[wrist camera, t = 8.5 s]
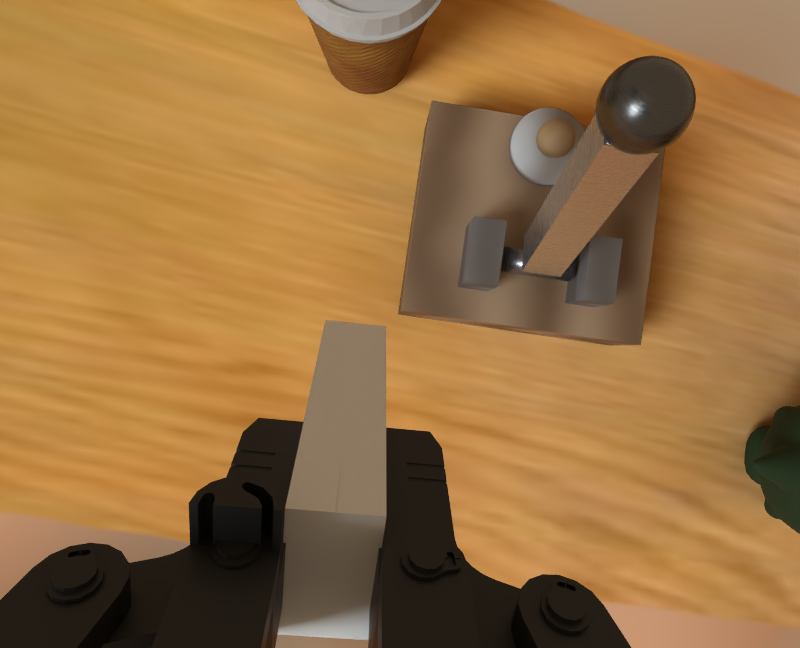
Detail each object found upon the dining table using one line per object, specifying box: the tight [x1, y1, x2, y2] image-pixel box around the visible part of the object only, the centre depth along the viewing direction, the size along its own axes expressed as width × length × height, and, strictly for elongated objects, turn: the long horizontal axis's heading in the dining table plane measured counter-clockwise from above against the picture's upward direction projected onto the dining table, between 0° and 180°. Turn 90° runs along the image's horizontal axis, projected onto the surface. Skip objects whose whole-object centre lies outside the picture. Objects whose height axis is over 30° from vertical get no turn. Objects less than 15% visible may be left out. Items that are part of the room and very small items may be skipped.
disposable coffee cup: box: [296, 0, 441, 94], centre depth 38 cm, size 10×10×12 cm
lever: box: [500, 56, 696, 282], centre depth 30 cm, size 4×4×17 cm
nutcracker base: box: [398, 101, 665, 345], centre depth 40 cm, size 16×14×8 cm
